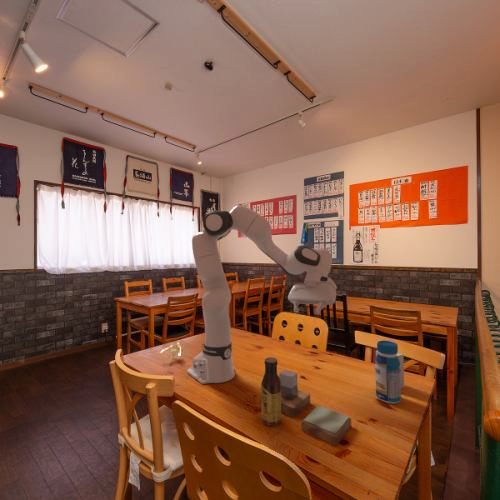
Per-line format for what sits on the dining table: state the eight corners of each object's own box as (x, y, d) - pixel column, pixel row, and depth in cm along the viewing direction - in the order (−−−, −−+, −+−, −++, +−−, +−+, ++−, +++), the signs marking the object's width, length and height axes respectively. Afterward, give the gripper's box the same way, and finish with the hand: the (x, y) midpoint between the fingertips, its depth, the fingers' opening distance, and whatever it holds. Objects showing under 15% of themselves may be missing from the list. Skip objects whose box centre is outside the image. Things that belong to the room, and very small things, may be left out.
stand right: (301, 429, 83) (301, 419, 83) (318, 413, 91) (317, 404, 91) (336, 446, 76) (336, 435, 76) (351, 426, 84) (351, 416, 84)
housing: (279, 395, 97) (279, 373, 97) (285, 391, 100) (285, 369, 100) (291, 400, 94) (291, 377, 94) (297, 395, 97) (297, 373, 97)
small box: (404, 387, 107) (404, 354, 108) (393, 391, 105) (393, 357, 105) (386, 379, 115) (385, 348, 115) (375, 382, 112) (375, 350, 112)
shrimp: (158, 369, 134) (153, 354, 131) (173, 348, 148) (169, 334, 145) (178, 371, 131) (174, 356, 128) (192, 350, 145) (189, 335, 142)
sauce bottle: (260, 416, 90) (259, 355, 90) (279, 415, 91) (278, 354, 91) (263, 428, 84) (262, 363, 84) (283, 427, 84) (282, 362, 84)
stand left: (266, 405, 96) (266, 397, 96) (284, 393, 105) (284, 385, 105) (294, 417, 89) (293, 408, 89) (310, 403, 98) (310, 394, 98)
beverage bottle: (400, 407, 94) (399, 348, 94) (373, 400, 99) (372, 344, 99) (402, 396, 101) (401, 341, 101) (377, 390, 106) (376, 338, 106)
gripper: (290, 279, 120) (280, 307, 113) (334, 278, 106) (325, 309, 99) (297, 287, 124) (288, 314, 117) (340, 287, 110) (333, 318, 103)
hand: (305, 312), depth 108 cm, fingers open, 8 cm apart
